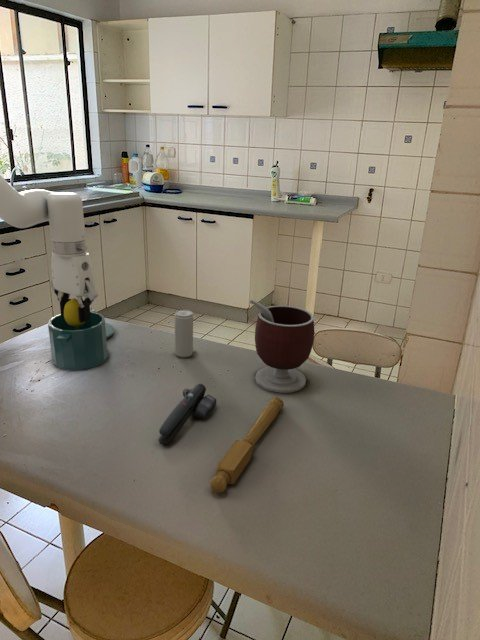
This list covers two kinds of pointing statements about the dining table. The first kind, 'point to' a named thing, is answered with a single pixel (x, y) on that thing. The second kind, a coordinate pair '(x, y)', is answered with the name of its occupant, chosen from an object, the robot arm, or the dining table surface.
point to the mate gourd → (283, 346)
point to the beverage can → (183, 333)
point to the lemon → (72, 313)
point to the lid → (109, 330)
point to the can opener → (187, 411)
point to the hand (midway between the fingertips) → (75, 317)
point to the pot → (78, 342)
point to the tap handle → (243, 449)
